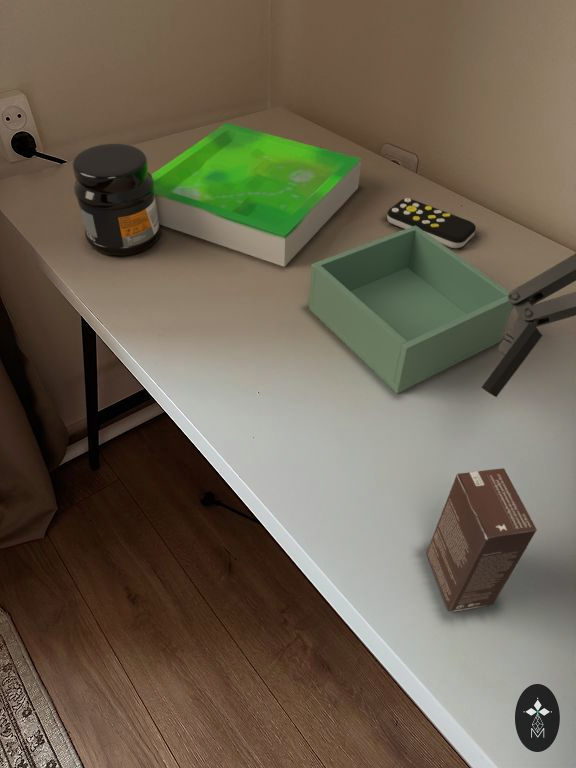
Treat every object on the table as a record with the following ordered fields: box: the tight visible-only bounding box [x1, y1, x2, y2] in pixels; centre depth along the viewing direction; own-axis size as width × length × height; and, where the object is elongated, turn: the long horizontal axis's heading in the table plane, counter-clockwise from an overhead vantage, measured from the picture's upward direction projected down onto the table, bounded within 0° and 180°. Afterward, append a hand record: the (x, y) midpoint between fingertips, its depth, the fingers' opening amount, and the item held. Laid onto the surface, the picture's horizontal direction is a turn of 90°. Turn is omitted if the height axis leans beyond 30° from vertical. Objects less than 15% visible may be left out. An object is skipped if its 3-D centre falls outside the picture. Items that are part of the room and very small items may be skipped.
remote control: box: [386, 197, 477, 249], centre depth 95 cm, size 6×13×2 cm, turn 53°
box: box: [426, 467, 538, 613], centre depth 52 cm, size 6×4×12 cm
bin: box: [308, 226, 514, 394], centre depth 77 cm, size 18×17×7 cm
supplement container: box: [72, 143, 161, 257], centre depth 88 cm, size 10×10×12 cm
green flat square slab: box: [150, 122, 362, 268], centre depth 98 cm, size 25×25×5 cm
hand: (557, 440), depth 51 cm, fingers open, 13 cm apart
